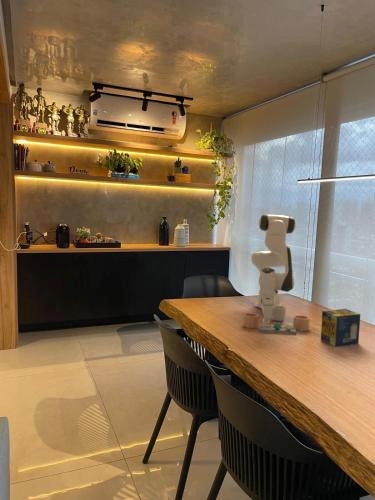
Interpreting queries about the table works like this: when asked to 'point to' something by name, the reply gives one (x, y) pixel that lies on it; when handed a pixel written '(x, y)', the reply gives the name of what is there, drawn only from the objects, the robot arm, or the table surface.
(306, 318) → the tube
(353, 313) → the protein box
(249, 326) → the tube
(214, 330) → the table surface
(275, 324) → the ball
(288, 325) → the ball
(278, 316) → the cup
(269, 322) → the ball
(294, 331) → the tray
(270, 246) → the robot arm
